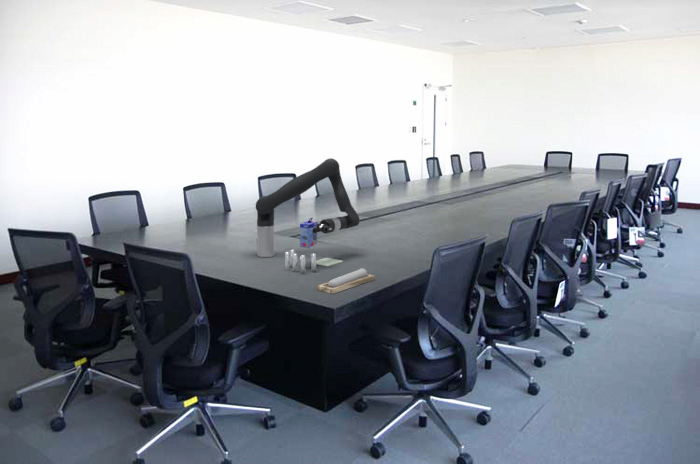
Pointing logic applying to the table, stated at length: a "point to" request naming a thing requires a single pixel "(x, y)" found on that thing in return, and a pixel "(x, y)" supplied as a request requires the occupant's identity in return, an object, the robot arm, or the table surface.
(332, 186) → the robot arm
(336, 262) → the sage mat
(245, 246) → the table surface
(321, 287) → the tube rest
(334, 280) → the tube
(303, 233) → the ink cartridge box
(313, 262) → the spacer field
